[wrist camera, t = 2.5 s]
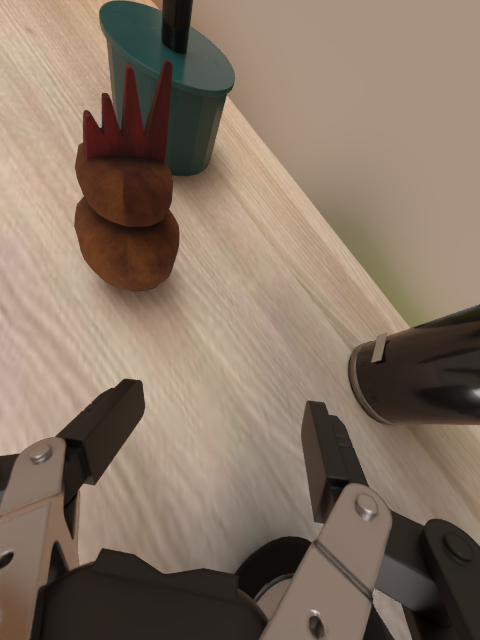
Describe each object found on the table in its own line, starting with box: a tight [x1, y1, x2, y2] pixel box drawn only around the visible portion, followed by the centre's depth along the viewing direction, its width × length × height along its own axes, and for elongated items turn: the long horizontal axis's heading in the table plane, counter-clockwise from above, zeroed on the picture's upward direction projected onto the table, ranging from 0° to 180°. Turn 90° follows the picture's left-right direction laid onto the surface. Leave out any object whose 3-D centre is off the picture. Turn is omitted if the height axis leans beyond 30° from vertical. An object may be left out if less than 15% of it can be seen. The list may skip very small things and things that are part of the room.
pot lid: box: [99, 0, 235, 97], centre depth 21 cm, size 12×12×5 cm
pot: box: [107, 40, 227, 176], centre depth 26 cm, size 11×11×8 cm
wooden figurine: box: [74, 59, 179, 291], centre depth 15 cm, size 7×6×15 cm
